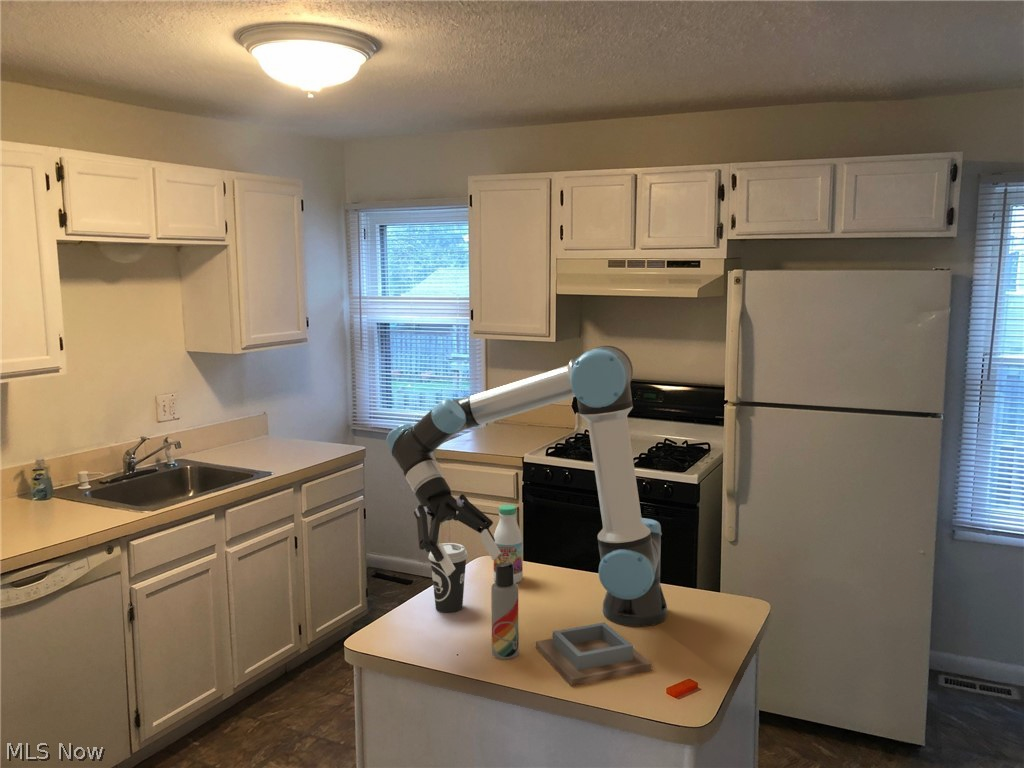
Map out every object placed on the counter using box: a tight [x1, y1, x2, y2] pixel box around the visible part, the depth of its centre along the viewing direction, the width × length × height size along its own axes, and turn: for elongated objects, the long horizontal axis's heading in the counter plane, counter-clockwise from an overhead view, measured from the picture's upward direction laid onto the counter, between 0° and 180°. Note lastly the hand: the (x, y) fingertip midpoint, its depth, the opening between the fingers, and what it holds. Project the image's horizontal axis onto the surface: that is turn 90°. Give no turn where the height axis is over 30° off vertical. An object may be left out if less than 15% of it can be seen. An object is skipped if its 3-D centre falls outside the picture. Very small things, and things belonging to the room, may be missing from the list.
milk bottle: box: [493, 504, 524, 584], centre depth 212 cm, size 8×8×20 cm
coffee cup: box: [427, 542, 469, 614], centre depth 194 cm, size 10×10×15 cm
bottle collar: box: [552, 622, 634, 671], centre depth 168 cm, size 12×12×3 cm
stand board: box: [535, 638, 653, 688], centre depth 168 cm, size 18×18×2 cm
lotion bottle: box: [490, 562, 520, 660], centre depth 169 cm, size 6×6×20 cm
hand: (474, 564), depth 174 cm, fingers open, 13 cm apart
